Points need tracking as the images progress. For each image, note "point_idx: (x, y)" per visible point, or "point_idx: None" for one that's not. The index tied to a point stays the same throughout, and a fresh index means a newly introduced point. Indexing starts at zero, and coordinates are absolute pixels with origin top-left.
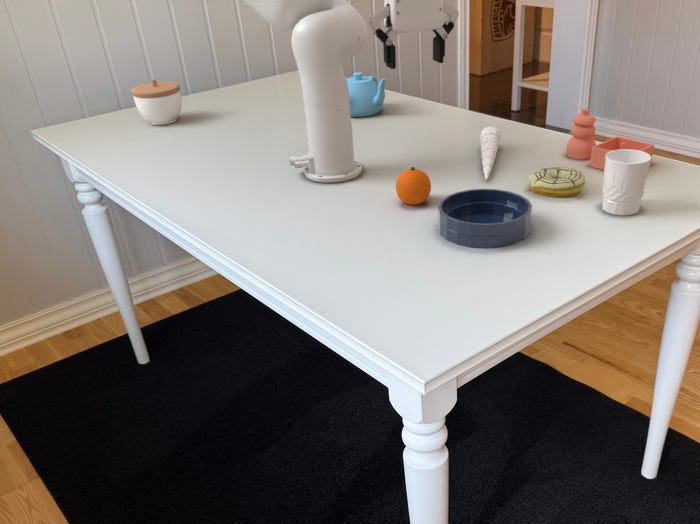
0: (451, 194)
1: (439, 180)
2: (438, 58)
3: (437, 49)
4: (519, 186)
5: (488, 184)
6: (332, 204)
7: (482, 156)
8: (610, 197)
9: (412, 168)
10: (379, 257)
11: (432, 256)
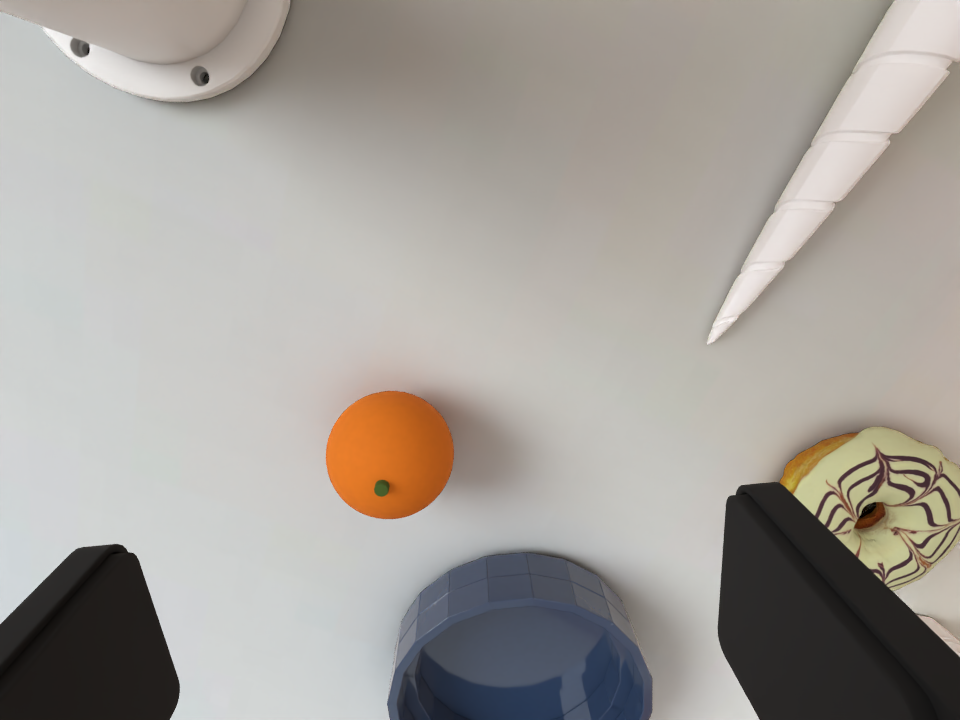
0: (467, 611)
1: (562, 252)
2: (737, 650)
3: (794, 716)
4: (777, 417)
5: (699, 361)
6: (129, 316)
7: (811, 167)
8: None
9: (378, 494)
10: (222, 680)
11: (346, 712)
